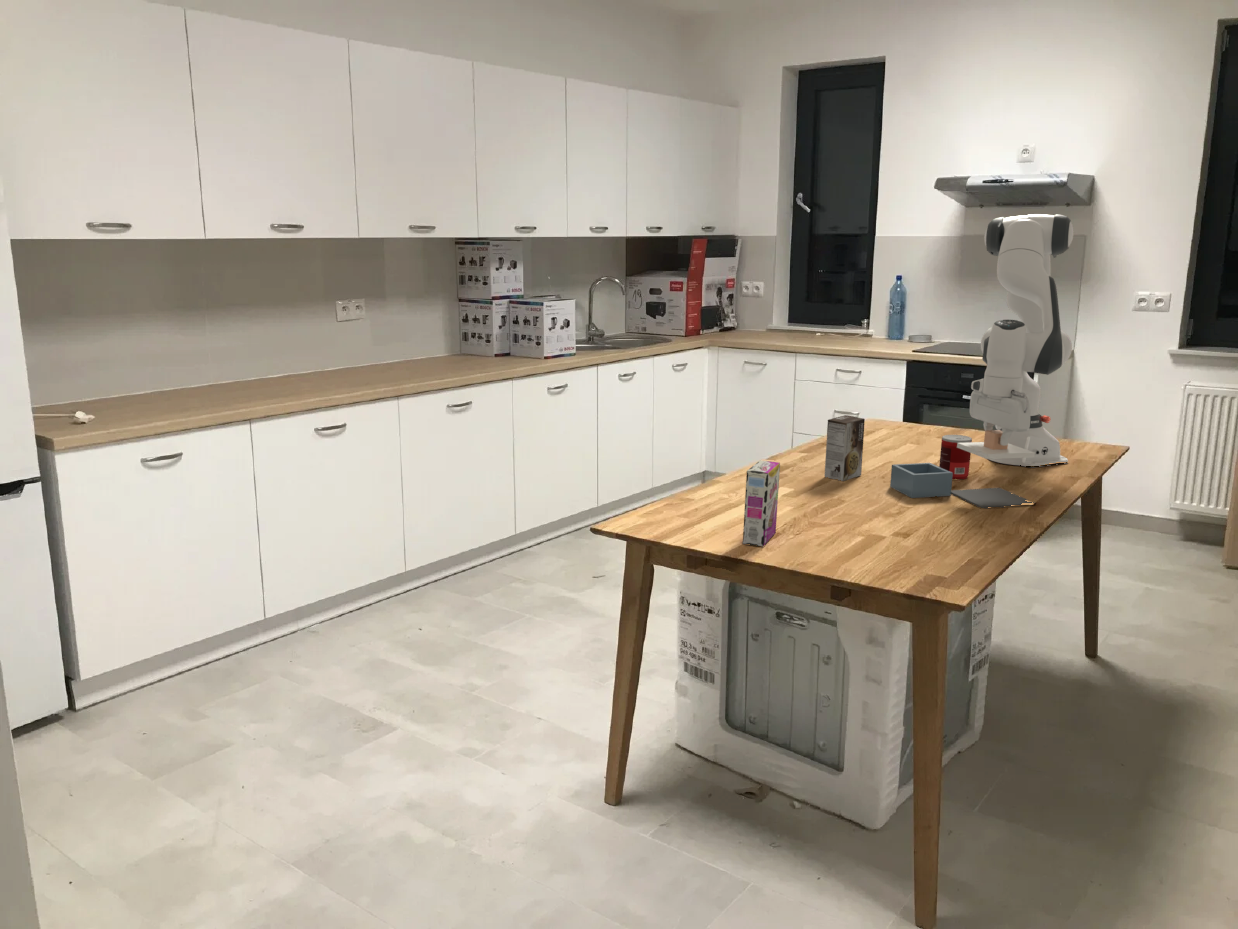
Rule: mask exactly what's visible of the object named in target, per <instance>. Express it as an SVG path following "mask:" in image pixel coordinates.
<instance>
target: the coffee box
mask: <svg viewBox="0 0 1238 929" xmlns="http://www.w3.org/2000/svg"><path fill="white" fill-rule="evenodd" d="M865 419H866V418H863V417H862V418H861V417H858V416H854V415H841V416H838V417H834V418H829V419H827V427H826V428H827V429H826V445H825V462H824V464H825V465H824V476H825V477H824V478H827V477H828V478H827V479H832V480H835V479H838V480H837V481H840V480H841V482H845V481H848V480H851V479H854V478H857V477H860V476H862V468H863V467H862V466H863V455H864V454H863V452H864V436H865V435H864V434H865Z"/></svg>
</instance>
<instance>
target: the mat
mask: <svg viewBox="0 0 1238 929" xmlns="http://www.w3.org/2000/svg"><path fill="white" fill-rule="evenodd" d="M1011 493H1012V492H1011V491H1009V490H1006V489H1004V488H1002V487H989V488H988V487H987V488H985V487H983V488H970V489H969V488H967V489H953V490H952V489H951V495H952V494H953V495H952V496H955V497H956V496H958V497H959V498H958V497H957V498H958V499H960V498H961V500H963V501H965V500H966V501H965V502H967V503H968V504H971V503H972V504H971V505H973V504H974V505H973V506H975V505H976V507H978V508H979V507H981V508H984V509H989V508H988V507H1000V508H1005V507H1004V506H1011V505H1021V504H1022V503H1032V502H1033V503H1035V502H1034V501H1032V502H1027V501H1025V500H1028V499H1027V498H1024V497H1022V496H1020V495H1018V494H1015V493H1013V494H1011ZM1019 496H1020V497H1019ZM981 508H980V509H981Z"/></svg>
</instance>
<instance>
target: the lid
mask: <svg viewBox="0 0 1238 929" xmlns="http://www.w3.org/2000/svg"><path fill="white" fill-rule="evenodd" d="M1002 433H1003V432H1002V431H1001V430H995V429H993V430H985V429H984V437H983V438H984V439H983V441H977V442H976V441H975V442H974V441H972V442H969V443H957V448H960V449H962V450H965V451H967V452H970V453H971V455H972V454H973V455H976V456H978V457H981V458H983V459H985V460H989V459H1002V458H1031V457H1034V455H1035V452H1032V451H1029V450H1026V449H1023V448H1020V447H1017V446H1015V445H1012V444H1009V443H1008V445H1004V446H1002V445H1000V444H998V438H999V437H1001V436H1002ZM1008 439H1009V438H1008Z"/></svg>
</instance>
